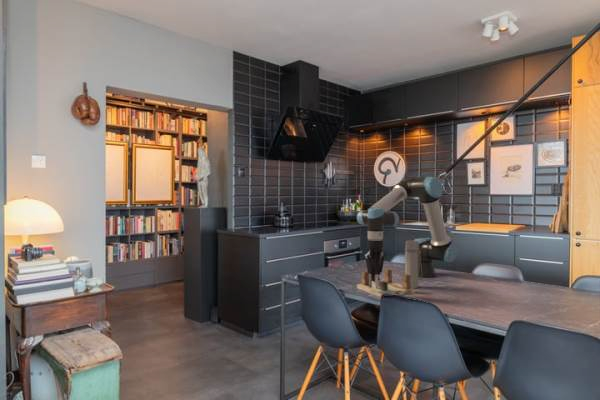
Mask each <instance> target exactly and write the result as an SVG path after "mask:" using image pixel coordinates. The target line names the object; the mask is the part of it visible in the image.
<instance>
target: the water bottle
mask: <svg viewBox="0 0 600 400" xmlns="http://www.w3.org/2000/svg"><path fill="white" fill-rule="evenodd" d="M418 251H419V245H418V241H414V240H406V241H405V248H404V274H408V275H411V278H410V288H413V289H418V287H419V280H423V279H422V278H423V277H418V264H419V266H420V262H421V258H420V255H419V254H420V252H421V251H419V252H418ZM421 272H422V267H421Z"/></svg>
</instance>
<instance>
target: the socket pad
mask: <svg viewBox="0 0 600 400" xmlns="http://www.w3.org/2000/svg"><path fill="white" fill-rule="evenodd" d="M371 289H373V290H376V291H378V292H381V293H388V292H396V291H399V290H396V289H393V288H390V287H388V290H384V291H383V290H381V289H379V288H371Z"/></svg>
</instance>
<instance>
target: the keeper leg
mask: <svg viewBox="0 0 600 400" xmlns="http://www.w3.org/2000/svg"><path fill="white" fill-rule="evenodd" d="M369 283H370V287H372V281H371V276H369ZM378 288H379V289H381V290H383V291H384V290H388V282H385V280H383V281H382V280H380V281H379V280H378Z"/></svg>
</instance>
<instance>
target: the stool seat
mask: <svg viewBox="0 0 600 400" xmlns="http://www.w3.org/2000/svg"><path fill="white" fill-rule="evenodd" d="M410 278H411V275H408V274H405V273H404V274H402V284H400V283H396V282H393V270H392V269H390V268H386V269H384V281H385V282H388V287H390V288H393V289H396V290H399V291H396V292H388V293H390V294H397V295H396V296H404V295H411V294H416V288H414V289H413V288H410ZM379 281H381V279H380V277H379ZM356 286H357V289H359V290H361V291H364V292H366V293H369V294H370V295H373V296H377V297H379V298H382V297H381V295H382V294H384V293H381V292H378V291H376V290H373V289H371V288H373V287H370V273H368V271H367V270H365V271H362V270H361V281H360V283H357V284H356Z"/></svg>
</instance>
